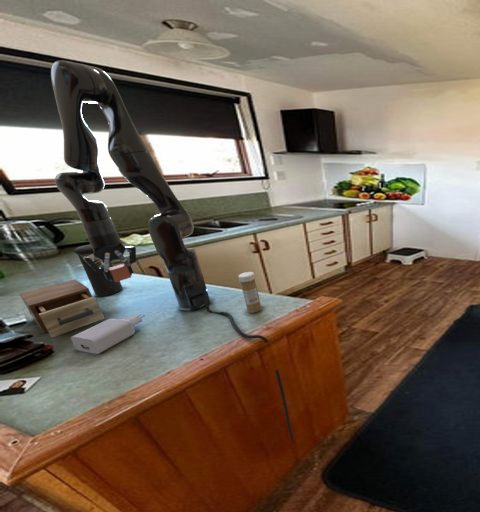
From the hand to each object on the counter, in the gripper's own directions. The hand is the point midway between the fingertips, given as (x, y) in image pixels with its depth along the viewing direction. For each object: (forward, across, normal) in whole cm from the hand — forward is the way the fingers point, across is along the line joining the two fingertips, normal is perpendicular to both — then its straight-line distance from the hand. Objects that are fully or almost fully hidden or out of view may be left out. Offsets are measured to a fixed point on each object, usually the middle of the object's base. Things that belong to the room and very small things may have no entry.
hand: (121, 277), depth 99 cm
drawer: (+9, -15, -5) cm, 18 cm away
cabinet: (+9, -15, +6) cm, 19 cm away
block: (0, 0, 0) cm, 0 cm away
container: (+10, -2, +18) cm, 21 cm away
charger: (+10, -10, -25) cm, 29 cm away
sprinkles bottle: (+11, +19, -48) cm, 53 cm away
